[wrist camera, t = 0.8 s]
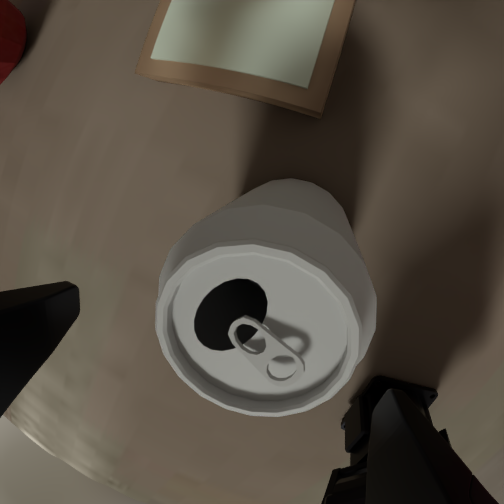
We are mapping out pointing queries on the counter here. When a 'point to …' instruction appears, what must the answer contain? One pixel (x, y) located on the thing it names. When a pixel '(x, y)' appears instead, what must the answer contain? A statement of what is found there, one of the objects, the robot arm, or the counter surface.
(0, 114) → the counter surface
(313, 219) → the can
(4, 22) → the apple
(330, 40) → the plinth
